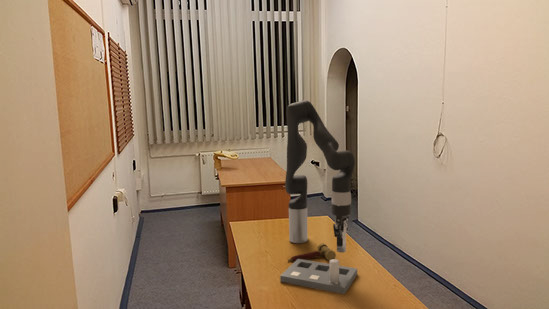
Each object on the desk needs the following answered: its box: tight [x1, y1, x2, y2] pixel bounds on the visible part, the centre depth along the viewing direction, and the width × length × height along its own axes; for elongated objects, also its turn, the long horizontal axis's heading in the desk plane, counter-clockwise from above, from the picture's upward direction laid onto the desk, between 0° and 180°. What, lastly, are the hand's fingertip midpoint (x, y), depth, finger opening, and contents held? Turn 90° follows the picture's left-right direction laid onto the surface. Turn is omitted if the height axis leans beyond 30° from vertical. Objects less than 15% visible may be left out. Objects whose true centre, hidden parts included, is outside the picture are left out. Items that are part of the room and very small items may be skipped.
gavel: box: [287, 243, 337, 262], centre depth 182 cm, size 21×5×10 cm
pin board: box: [279, 258, 358, 295], centre depth 162 cm, size 18×26×10 cm
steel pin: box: [336, 226, 347, 253], centre depth 160 cm, size 4×4×10 cm
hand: (341, 244), depth 160 cm, fingers closed on steel pin, 3 cm apart
